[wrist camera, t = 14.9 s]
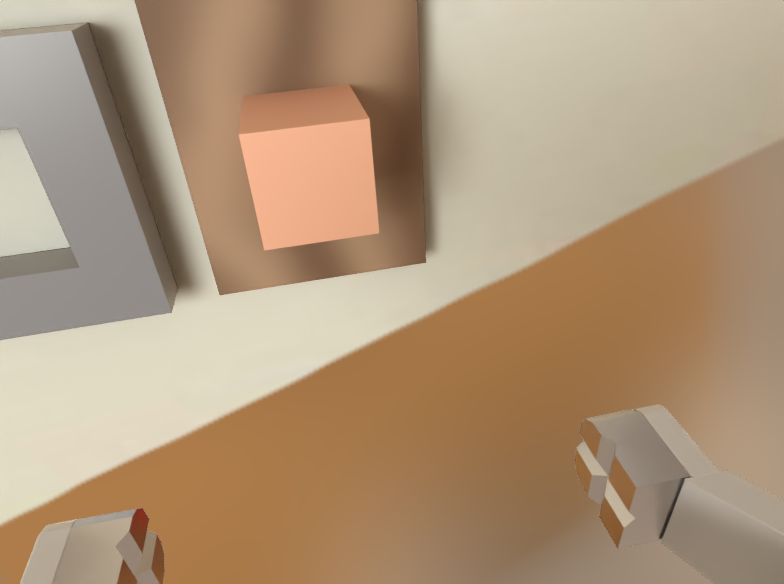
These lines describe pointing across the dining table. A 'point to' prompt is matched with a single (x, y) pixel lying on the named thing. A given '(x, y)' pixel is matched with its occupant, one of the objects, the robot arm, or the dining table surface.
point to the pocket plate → (77, 191)
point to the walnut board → (281, 74)
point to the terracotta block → (309, 165)
